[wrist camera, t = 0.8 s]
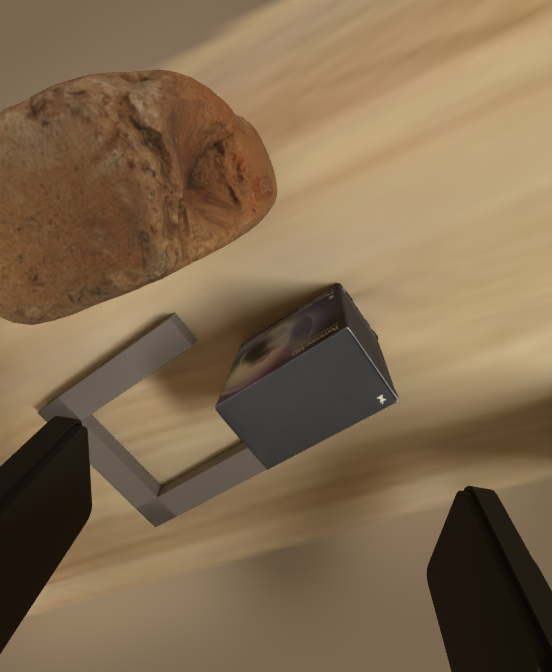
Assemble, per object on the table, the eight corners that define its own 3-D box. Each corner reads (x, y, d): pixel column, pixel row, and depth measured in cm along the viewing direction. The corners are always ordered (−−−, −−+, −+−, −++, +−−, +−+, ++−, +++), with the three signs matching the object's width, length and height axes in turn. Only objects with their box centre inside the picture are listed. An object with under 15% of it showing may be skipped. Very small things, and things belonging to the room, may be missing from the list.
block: (163, 251, 33) (-17, 356, 15) (123, 156, 31) (-156, 141, 12) (290, 209, 31) (261, 270, 13) (258, 104, 29) (165, -9, 10)
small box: (337, 276, 33) (349, 321, 23) (379, 337, 35) (405, 403, 25) (236, 343, 36) (209, 407, 26) (279, 396, 38) (268, 475, 28)
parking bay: (287, 448, 40) (286, 458, 38) (160, 516, 45) (155, 527, 43) (174, 312, 35) (169, 318, 34) (46, 404, 40) (37, 412, 39)
